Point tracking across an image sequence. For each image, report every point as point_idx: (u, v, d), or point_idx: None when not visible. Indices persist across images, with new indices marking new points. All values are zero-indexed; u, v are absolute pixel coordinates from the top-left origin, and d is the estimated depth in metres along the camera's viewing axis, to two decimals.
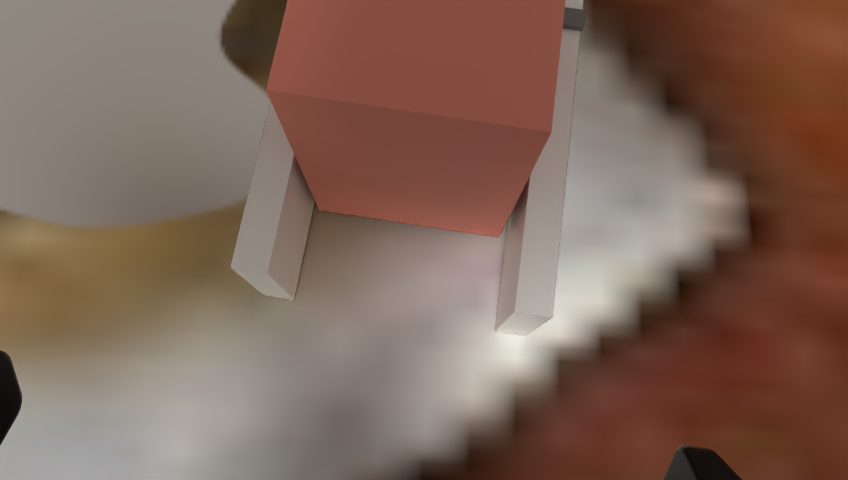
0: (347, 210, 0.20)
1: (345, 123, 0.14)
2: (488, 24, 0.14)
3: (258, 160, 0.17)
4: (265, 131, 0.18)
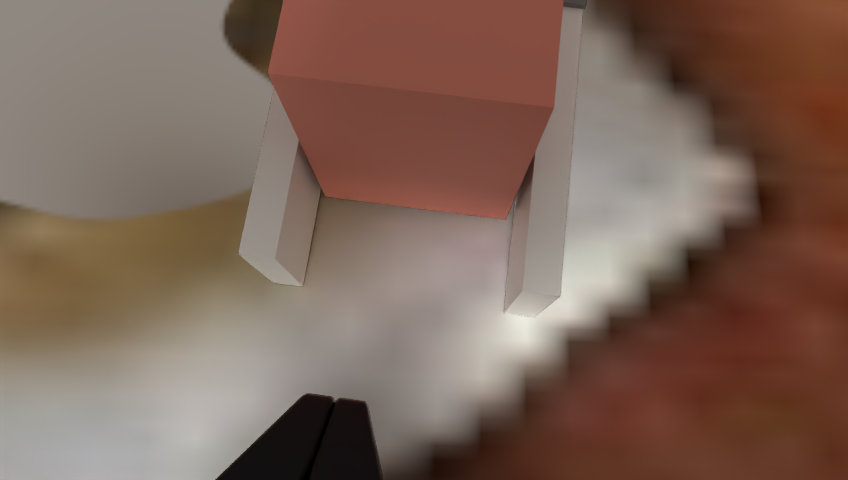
0: (354, 196, 0.20)
1: (348, 105, 0.14)
2: (488, 2, 0.14)
3: (263, 147, 0.18)
4: (269, 117, 0.18)
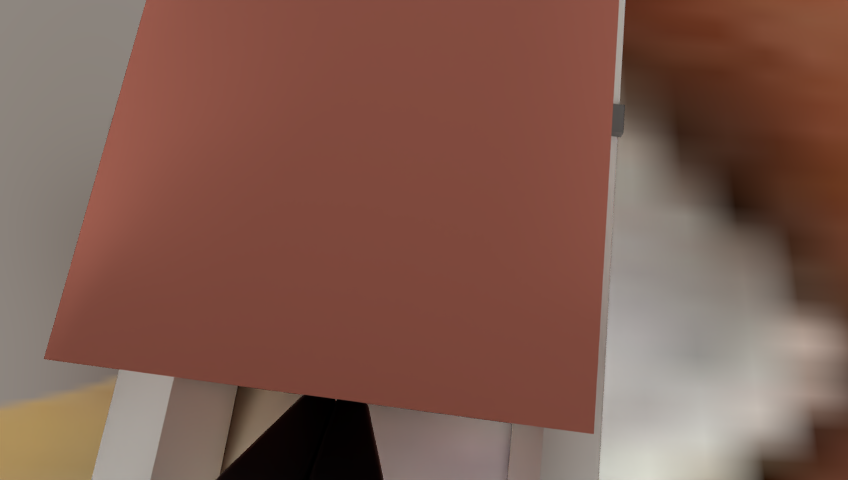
0: None
1: None
2: (467, 210, 0.07)
3: None
4: None
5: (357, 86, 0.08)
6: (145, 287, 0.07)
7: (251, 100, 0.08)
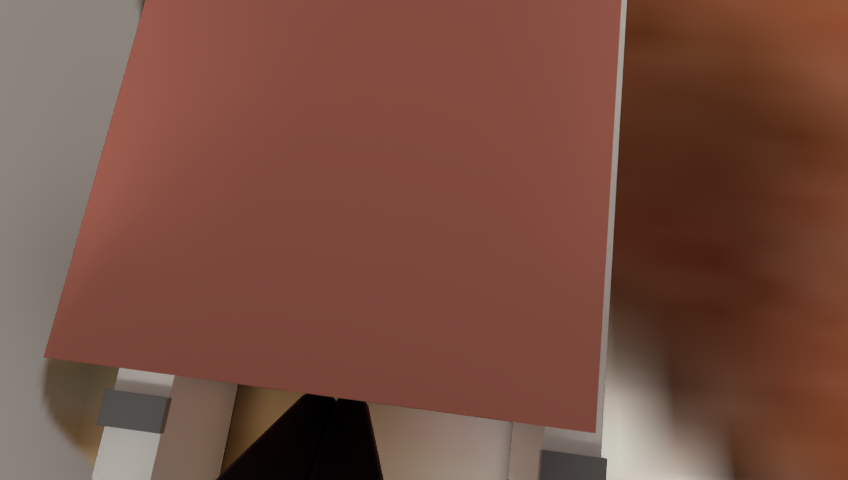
0: None
1: None
2: (468, 208, 0.07)
3: None
4: None
5: (358, 84, 0.08)
6: (145, 285, 0.07)
7: (251, 97, 0.08)
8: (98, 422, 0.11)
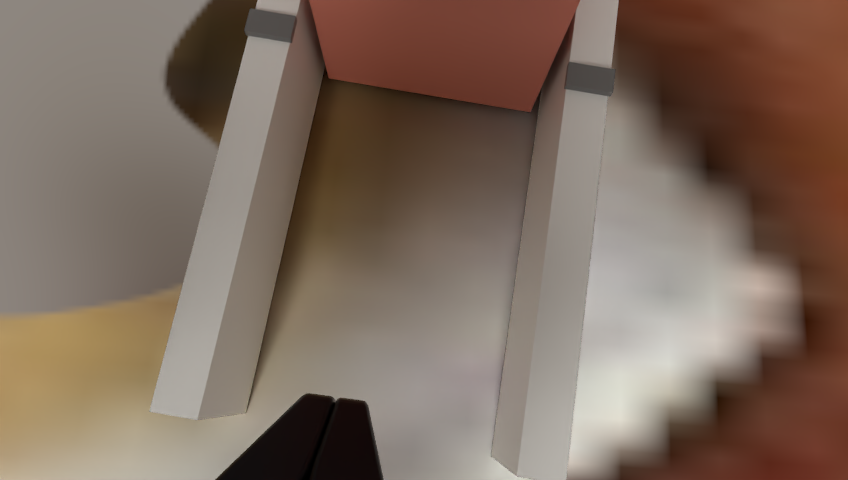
0: (361, 76, 0.18)
1: None
2: None
3: (190, 265, 0.14)
4: (201, 224, 0.14)
5: None
6: None
7: None
8: (244, 29, 0.15)
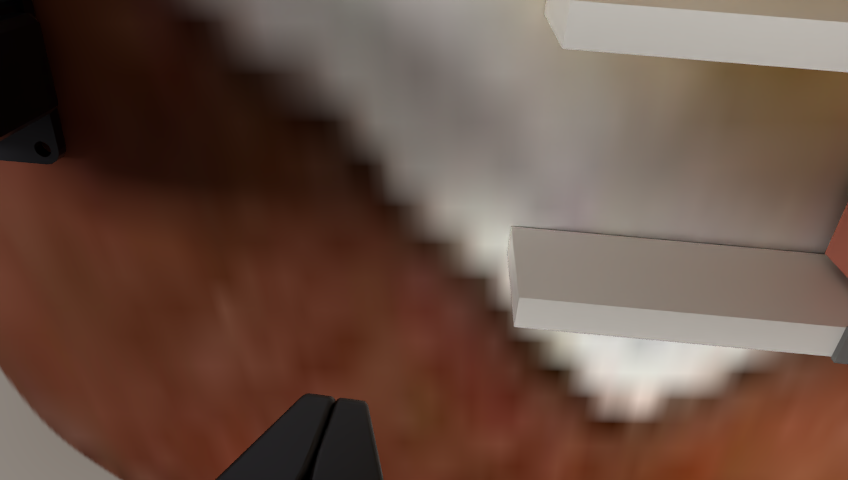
0: None
1: None
2: None
3: (719, 16, 0.13)
4: (763, 19, 0.13)
5: None
6: None
7: None
8: None
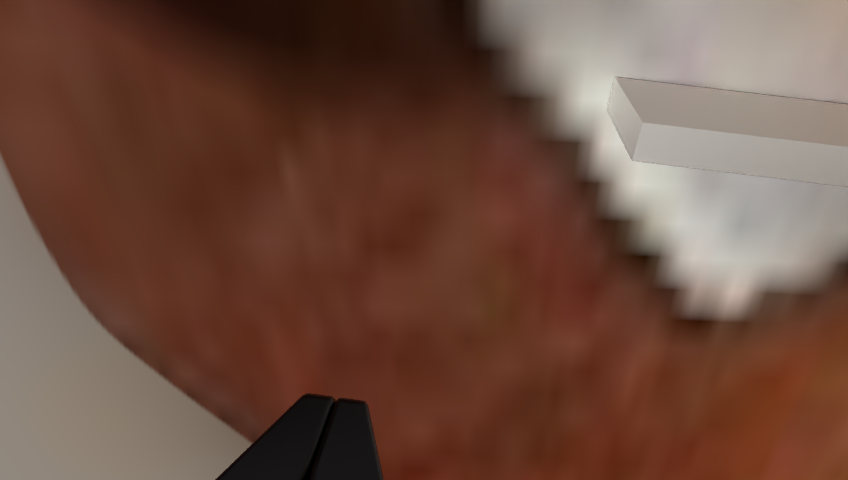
0: None
1: None
2: None
3: None
4: None
5: None
6: None
7: None
8: None
